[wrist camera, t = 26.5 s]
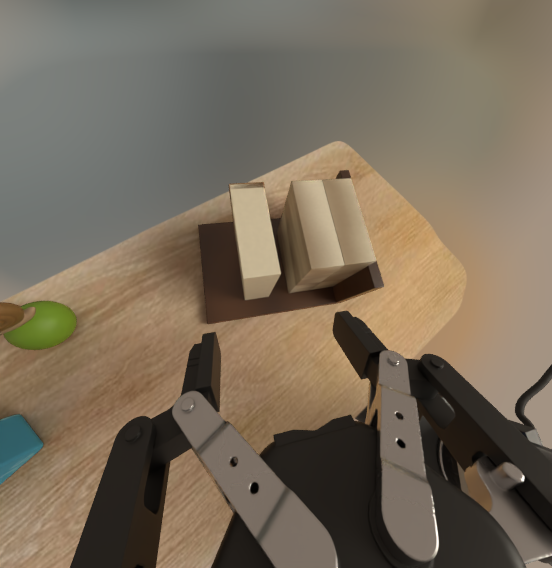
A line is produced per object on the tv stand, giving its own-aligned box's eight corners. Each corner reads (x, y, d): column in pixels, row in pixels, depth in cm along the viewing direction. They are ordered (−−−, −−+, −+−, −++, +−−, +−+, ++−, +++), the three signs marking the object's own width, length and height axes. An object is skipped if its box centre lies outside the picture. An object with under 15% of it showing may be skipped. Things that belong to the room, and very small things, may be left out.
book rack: (319, 218, 35) (355, 159, 23) (340, 302, 31) (394, 283, 20) (199, 228, 31) (171, 164, 20) (208, 324, 28) (181, 315, 16)
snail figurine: (21, 326, 25) (-175, 317, 13) (76, 296, 26) (-57, 266, 15) (41, 363, 24) (-148, 387, 13) (96, 330, 26) (-27, 325, 14)
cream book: (258, 233, 31) (263, 181, 21) (269, 296, 29) (281, 273, 18) (235, 236, 31) (228, 183, 20) (244, 300, 28) (242, 279, 18)
